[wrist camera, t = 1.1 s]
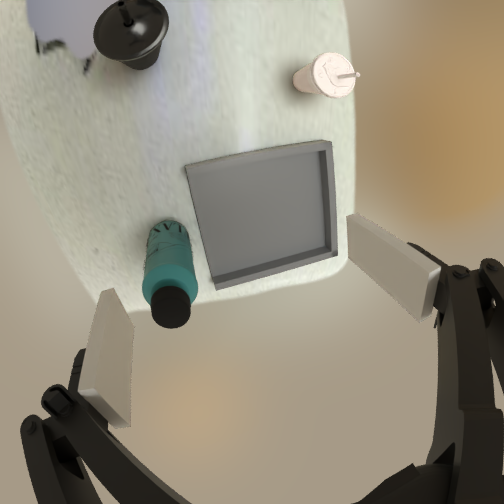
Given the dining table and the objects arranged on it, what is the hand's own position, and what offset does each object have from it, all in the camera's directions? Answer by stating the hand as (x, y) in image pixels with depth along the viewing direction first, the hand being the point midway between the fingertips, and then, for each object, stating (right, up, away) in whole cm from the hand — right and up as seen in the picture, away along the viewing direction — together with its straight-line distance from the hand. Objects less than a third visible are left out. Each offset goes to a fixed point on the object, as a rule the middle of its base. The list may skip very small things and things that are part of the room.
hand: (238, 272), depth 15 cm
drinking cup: (-15, +28, +16) cm, 36 cm away
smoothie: (+9, +27, +24) cm, 37 cm away
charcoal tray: (+3, +8, +32) cm, 33 cm away
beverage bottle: (-12, +4, +29) cm, 32 cm away
